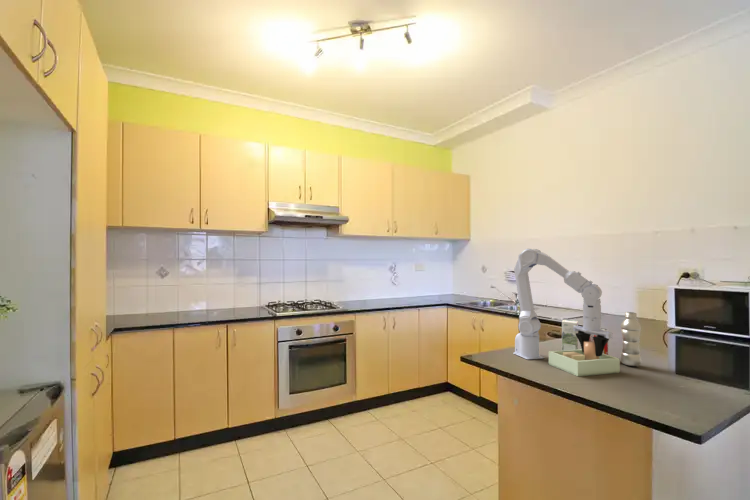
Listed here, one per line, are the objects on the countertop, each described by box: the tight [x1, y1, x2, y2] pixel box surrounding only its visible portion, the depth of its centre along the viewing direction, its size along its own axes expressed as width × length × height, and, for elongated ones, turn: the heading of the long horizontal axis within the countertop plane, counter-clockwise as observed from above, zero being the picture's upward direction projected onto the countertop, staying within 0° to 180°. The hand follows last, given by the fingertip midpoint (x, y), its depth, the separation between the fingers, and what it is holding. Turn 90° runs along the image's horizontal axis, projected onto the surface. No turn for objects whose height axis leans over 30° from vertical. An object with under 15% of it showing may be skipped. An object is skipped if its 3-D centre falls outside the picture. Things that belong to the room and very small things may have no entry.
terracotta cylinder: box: [584, 341, 600, 360], centre depth 135 cm, size 5×5×7 cm
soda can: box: [589, 328, 609, 355], centre depth 147 cm, size 7×7×12 cm
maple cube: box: [563, 352, 585, 361], centre depth 133 cm, size 5×5×5 cm
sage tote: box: [548, 348, 621, 377], centre depth 134 cm, size 14×18×5 cm
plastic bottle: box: [619, 311, 642, 367], centre depth 139 cm, size 6×7×20 cm
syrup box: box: [561, 319, 579, 351], centre depth 152 cm, size 6×6×14 cm
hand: (591, 354), depth 135 cm, fingers closed on terracotta cylinder, 5 cm apart
